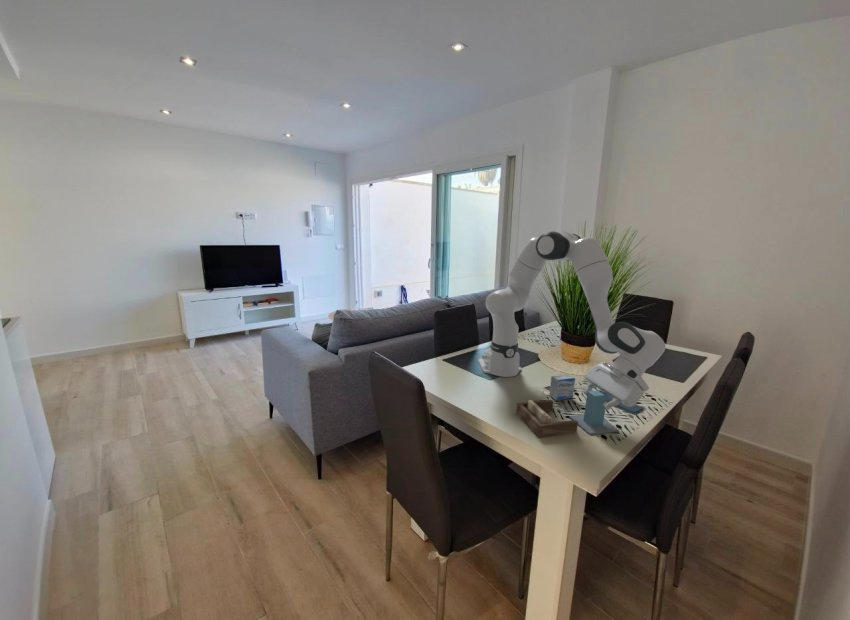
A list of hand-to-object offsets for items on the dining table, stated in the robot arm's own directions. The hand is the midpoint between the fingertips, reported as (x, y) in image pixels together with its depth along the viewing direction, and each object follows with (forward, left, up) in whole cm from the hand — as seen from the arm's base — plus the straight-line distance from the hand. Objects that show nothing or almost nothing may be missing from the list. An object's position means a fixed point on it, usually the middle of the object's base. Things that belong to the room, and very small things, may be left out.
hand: (594, 401), depth 117 cm
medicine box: (-20, +2, -9) cm, 22 cm away
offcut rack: (-4, -15, -9) cm, 18 cm away
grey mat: (0, +1, -9) cm, 9 cm away
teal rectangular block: (0, +1, -8) cm, 8 cm away
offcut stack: (-4, -18, -9) cm, 20 cm away
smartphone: (-11, +21, -10) cm, 26 cm away
